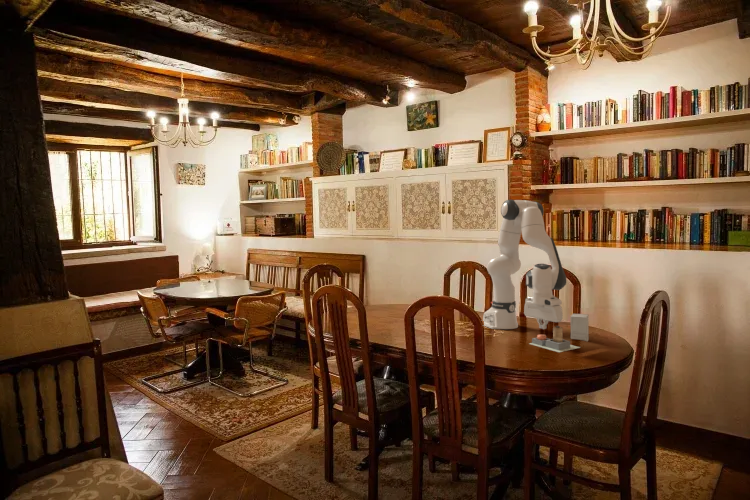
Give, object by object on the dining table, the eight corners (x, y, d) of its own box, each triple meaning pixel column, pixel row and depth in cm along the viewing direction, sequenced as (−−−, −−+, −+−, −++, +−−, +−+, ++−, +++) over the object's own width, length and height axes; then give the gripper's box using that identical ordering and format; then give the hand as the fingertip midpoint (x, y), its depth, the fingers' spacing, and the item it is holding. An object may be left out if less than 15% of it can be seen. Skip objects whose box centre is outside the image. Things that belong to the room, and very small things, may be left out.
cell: (551, 346, 238) (551, 326, 237) (557, 345, 240) (557, 324, 239) (558, 348, 234) (558, 327, 234) (564, 347, 236) (564, 326, 236)
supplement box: (588, 339, 254) (589, 314, 253) (586, 343, 248) (586, 317, 247) (572, 338, 258) (573, 313, 257) (570, 341, 252) (570, 315, 251)
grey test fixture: (528, 346, 245) (528, 337, 244) (549, 342, 251) (549, 333, 251) (559, 355, 229) (559, 345, 229) (580, 350, 236) (580, 340, 235)
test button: (535, 340, 245) (535, 335, 244) (541, 338, 247) (541, 333, 246) (542, 341, 241) (542, 336, 241) (548, 340, 243) (548, 335, 243)
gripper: (520, 297, 250) (521, 325, 251) (555, 302, 232) (555, 333, 233) (530, 295, 253) (530, 323, 254) (564, 301, 235) (564, 331, 236)
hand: (542, 328), depth 243 cm, fingers closed
